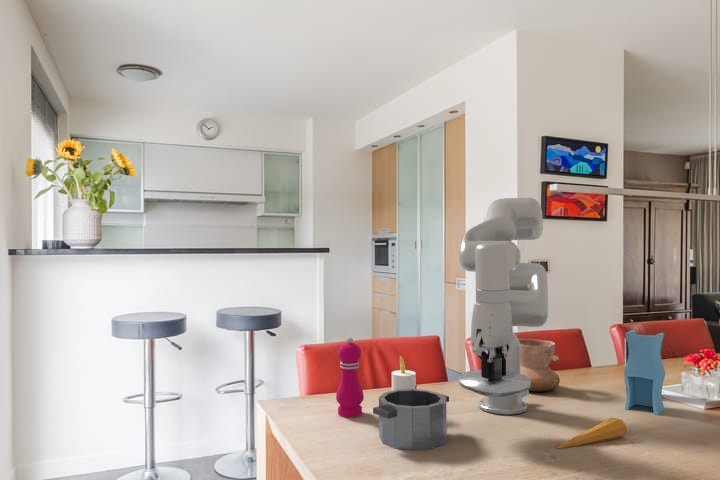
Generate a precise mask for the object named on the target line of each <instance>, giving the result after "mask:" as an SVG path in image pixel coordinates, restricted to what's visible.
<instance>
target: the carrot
mask: <svg viewBox="0 0 720 480" xmlns="http://www.w3.org/2000/svg"><path fill="white" fill-rule="evenodd" d="M627 432H628V431H627V425H626V423H625V422H624V421H623V419H620V418H617V417H610V418H608V419H606V420H604V421H602V422H601V423H599V424H597V425H594V426H593V427H591V428H589V429H587V430H586V431H583V432H581V433H579V434H577V435H576V436H573V437H572V438H571V439H568V440H567V441H565V442H564V443H562V444H561V445H559V446H557V447H556V448H555V449H564V448H570V447H571V448H572V447H579V446H584V445H589V444H593V443H600V442H605V441H610V440H615V439H620V438H621V437H623V436H624V435H625V434H626V433H627Z"/></svg>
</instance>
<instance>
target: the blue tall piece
mask: <svg viewBox="0 0 720 480" xmlns="http://www.w3.org/2000/svg"><path fill="white" fill-rule="evenodd" d="M664 336H665V332H660V333H657V334H656V335H655V334H654V335H647V334H637V332H636V330H635V329H632V330H629V331H627V332H625V337H626V338H627V342H628V349H629V355H628V361H627V364H626V367H625V366H624V369H623V370H624V371H623V377H624V382H625V381H626V386H627V396H626V401H625V406H624V410H629V409H631V408H632V407H634V406H635V405H636V406H638V405H639V406H644V407H645V406H646V407H650V408H652V409H653V415H654V416H659V415H660V414H661V413H662V412H664V410H665V407H664V402H663V385H664V382H665V376H666V369H665V367H664V364H663V360H662V345H663V344H662V342H663V340H664Z"/></svg>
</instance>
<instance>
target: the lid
mask: <svg viewBox="0 0 720 480" xmlns="http://www.w3.org/2000/svg"><path fill="white" fill-rule="evenodd" d="M492 362H494V380H490V379H486V378H482V376H481V369H475V370H468V371H465V372H463V373H461V374H460V375H458V385H459V386H460V387H462V388H463V389H465V390H468V391H472V392H474V393H475V394H478V395H480V396H483V397H484V396H491V397H505V396H511V395H514V394H515V393H520V392H524V391H526V390H528V389H529V388H530V387H531V381H530V379H529V378H528V377H527V376H525V375H522V374H519V373H516V372H512V371H506V376H502V357H500V356H496V355H493V358H492Z"/></svg>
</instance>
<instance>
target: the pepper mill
mask: <svg viewBox="0 0 720 480" xmlns="http://www.w3.org/2000/svg"><path fill="white" fill-rule="evenodd" d="M353 341H354V340H353V338H352V337H351V336H348V337H347V338H346V339H345V343H343V344H341V345H340V346H339V349H338V351H337V355H338V359H339V360H340V362H339V364H340V366H339V367H340V369H341V381H340V383H339V385H338V388H337V390H336V392H335V393H336V394H335V400H336V402H337V403H338V407H337V414H338V415H339V416H340V417H343V418H357V417H360V416H361V415H362V414H363V407H362V406H361V404H362V403H363V401H364V397H365V396H364V392H363V388H362V386H361V384H360V381H359V378H358V368H359V367H360V361H359V359H360V358H361V355H362V352H361V351H362V350H361V347H360V346H359V345H358V344H356V343H354V342H353Z"/></svg>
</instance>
